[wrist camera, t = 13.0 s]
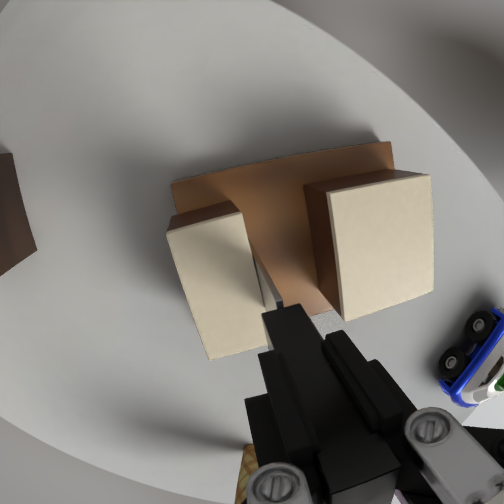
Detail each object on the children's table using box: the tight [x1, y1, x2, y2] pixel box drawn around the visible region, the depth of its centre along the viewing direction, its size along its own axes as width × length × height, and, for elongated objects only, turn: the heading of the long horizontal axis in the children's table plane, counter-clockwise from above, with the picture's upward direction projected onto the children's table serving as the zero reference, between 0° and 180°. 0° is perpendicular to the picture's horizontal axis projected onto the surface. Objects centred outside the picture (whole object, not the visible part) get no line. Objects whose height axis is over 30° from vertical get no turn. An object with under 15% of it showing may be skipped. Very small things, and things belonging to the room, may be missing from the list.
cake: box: [303, 169, 434, 322], centre depth 21 cm, size 8×7×5 cm
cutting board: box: [170, 141, 394, 316], centre depth 23 cm, size 12×16×2 cm
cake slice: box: [166, 200, 267, 360], centre depth 20 cm, size 8×4×5 cm, turn 13°
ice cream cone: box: [235, 444, 259, 504], centre depth 23 cm, size 7×6×15 cm
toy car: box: [438, 307, 504, 408], centre depth 27 cm, size 9×12×10 cm
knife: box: [247, 235, 402, 504], centre depth 14 cm, size 3×2×18 cm, turn 12°
